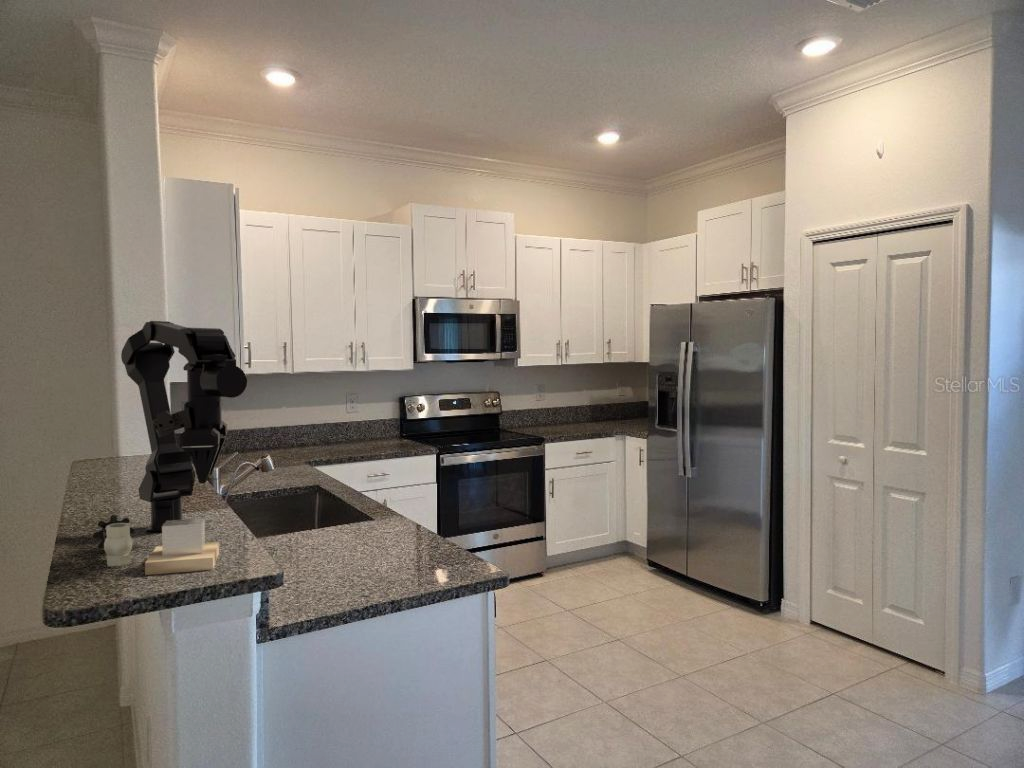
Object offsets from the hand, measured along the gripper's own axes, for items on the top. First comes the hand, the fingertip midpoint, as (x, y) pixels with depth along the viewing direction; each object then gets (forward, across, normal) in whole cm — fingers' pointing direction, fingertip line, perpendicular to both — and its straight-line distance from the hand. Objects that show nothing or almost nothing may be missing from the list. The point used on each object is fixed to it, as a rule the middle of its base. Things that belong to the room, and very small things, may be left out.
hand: (205, 478), depth 129 cm
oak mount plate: (+12, +13, -2) cm, 18 cm away
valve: (+12, +6, -14) cm, 19 cm away
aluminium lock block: (+10, +13, -2) cm, 16 cm away
